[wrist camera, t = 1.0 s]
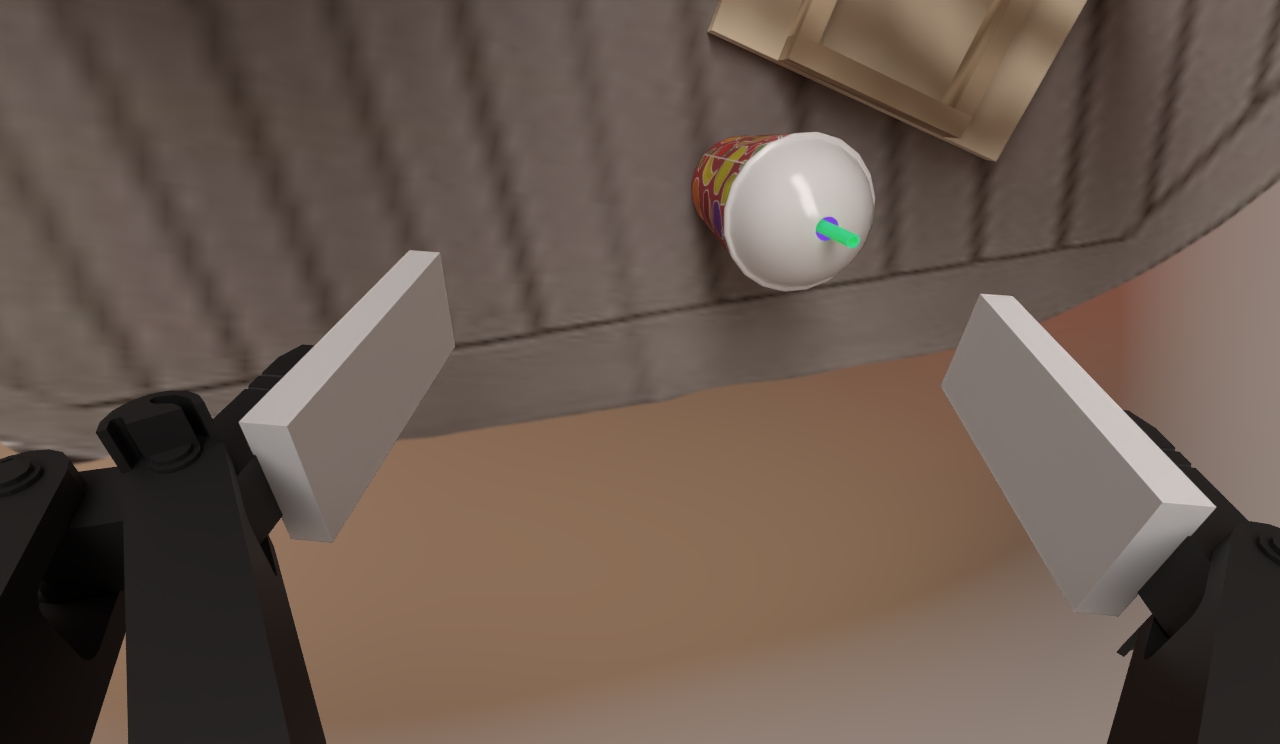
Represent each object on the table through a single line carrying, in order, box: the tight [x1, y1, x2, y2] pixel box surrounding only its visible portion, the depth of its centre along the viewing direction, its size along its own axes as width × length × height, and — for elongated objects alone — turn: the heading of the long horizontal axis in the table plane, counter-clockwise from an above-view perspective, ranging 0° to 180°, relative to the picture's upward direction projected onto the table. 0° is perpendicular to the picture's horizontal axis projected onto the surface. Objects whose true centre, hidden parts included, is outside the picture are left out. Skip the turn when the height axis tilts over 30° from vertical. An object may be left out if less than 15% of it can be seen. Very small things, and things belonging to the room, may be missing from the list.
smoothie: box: [692, 132, 875, 292], centre depth 35 cm, size 8×8×20 cm
